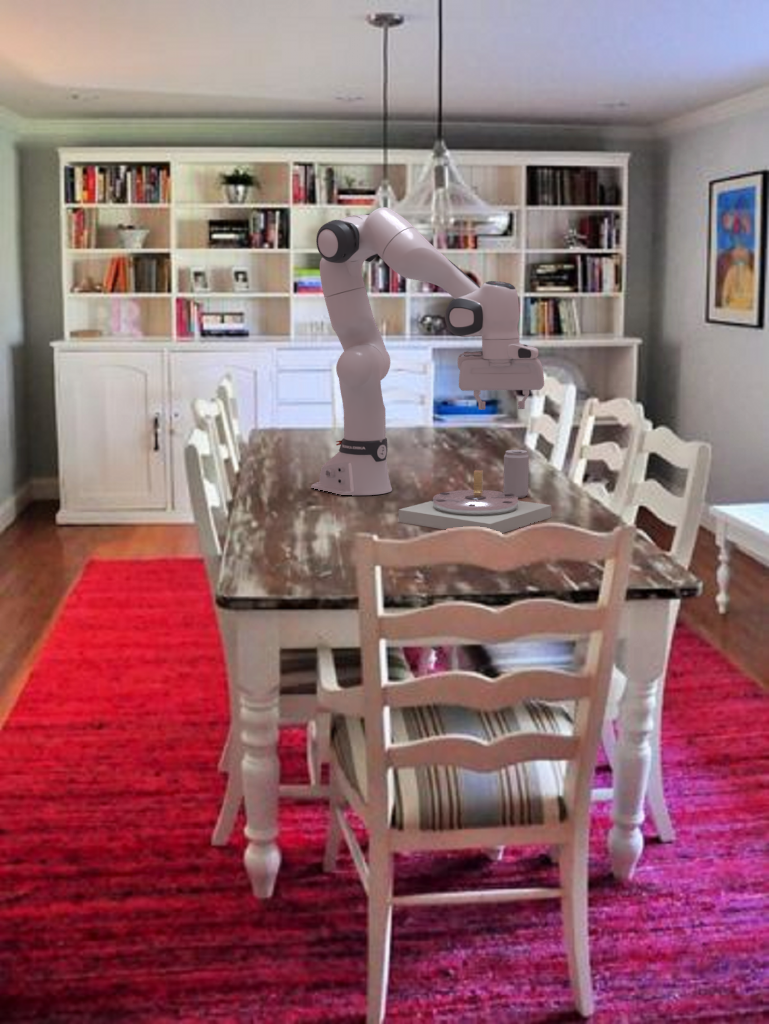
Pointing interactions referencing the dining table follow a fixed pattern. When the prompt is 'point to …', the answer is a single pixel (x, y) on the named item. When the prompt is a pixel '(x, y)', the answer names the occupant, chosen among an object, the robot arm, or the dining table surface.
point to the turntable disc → (475, 500)
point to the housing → (475, 517)
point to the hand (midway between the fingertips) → (501, 409)
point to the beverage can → (516, 472)
